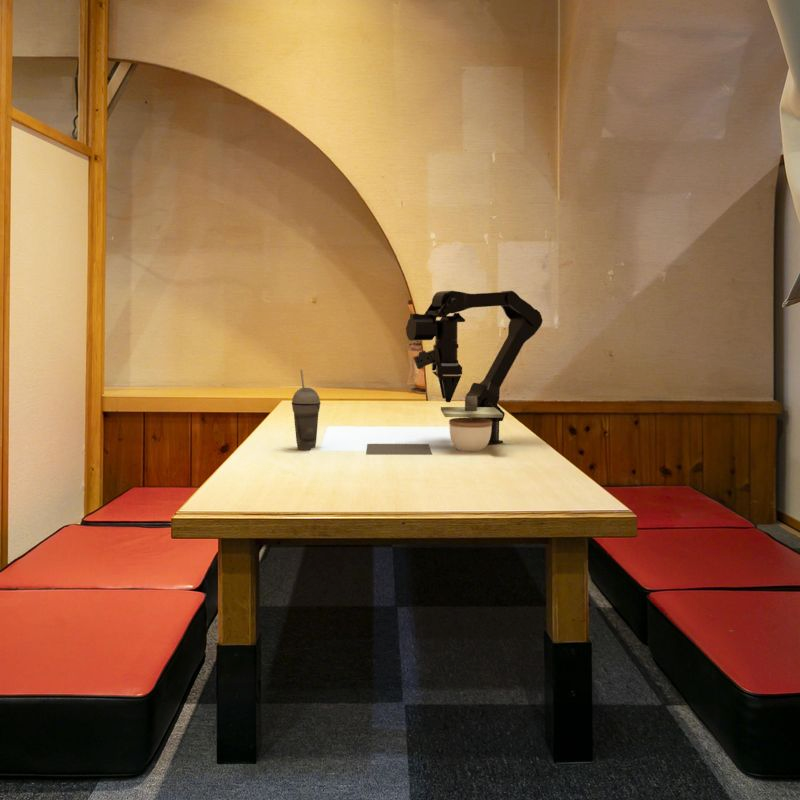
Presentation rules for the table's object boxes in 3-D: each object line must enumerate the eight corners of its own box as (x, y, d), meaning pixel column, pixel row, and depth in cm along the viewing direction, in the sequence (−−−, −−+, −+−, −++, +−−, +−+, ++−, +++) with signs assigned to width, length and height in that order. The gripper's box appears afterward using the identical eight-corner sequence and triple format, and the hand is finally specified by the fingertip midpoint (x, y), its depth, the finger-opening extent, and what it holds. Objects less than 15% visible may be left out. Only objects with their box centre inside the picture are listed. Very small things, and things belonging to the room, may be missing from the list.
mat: (428, 445, 199) (428, 443, 199) (432, 456, 184) (432, 454, 184) (367, 445, 199) (367, 443, 199) (365, 456, 183) (365, 454, 183)
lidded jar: (463, 455, 185) (464, 417, 184) (440, 449, 194) (441, 412, 193) (500, 452, 190) (500, 415, 189) (476, 446, 199) (476, 410, 198)
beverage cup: (315, 451, 189) (315, 371, 187) (287, 450, 190) (287, 370, 188) (324, 447, 196) (324, 369, 194) (297, 446, 197) (296, 368, 195)
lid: (494, 410, 198) (494, 394, 197) (502, 417, 184) (503, 399, 184) (440, 410, 198) (441, 393, 197) (445, 417, 184) (445, 399, 183)
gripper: (413, 339, 205) (413, 396, 207) (417, 341, 187) (417, 404, 189) (454, 339, 206) (454, 396, 207) (462, 341, 187) (462, 404, 189)
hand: (446, 400), depth 198 cm, fingers open, 9 cm apart
